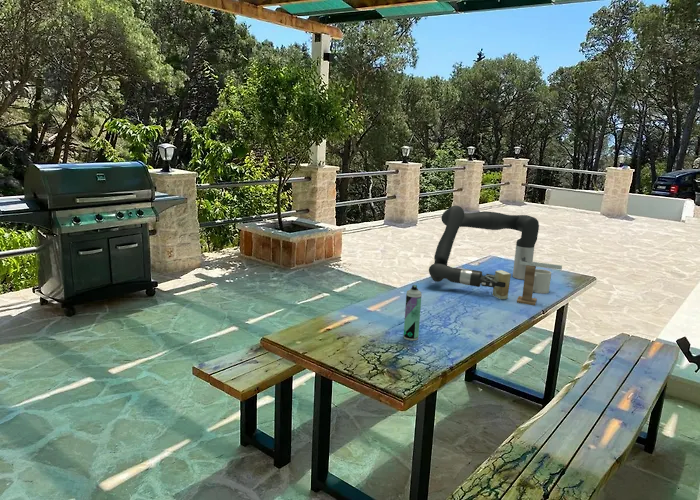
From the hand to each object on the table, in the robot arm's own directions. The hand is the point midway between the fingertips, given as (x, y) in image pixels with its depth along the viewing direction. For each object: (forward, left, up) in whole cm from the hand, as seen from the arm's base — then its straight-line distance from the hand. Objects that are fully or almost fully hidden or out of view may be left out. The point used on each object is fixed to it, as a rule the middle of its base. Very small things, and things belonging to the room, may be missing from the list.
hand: (506, 283), depth 251 cm
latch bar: (0, +14, +10) cm, 17 cm away
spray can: (+69, -24, -8) cm, 74 cm away
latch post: (0, +10, -7) cm, 12 cm away
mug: (-21, +13, -8) cm, 26 cm away
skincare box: (0, -2, -7) cm, 8 cm away
